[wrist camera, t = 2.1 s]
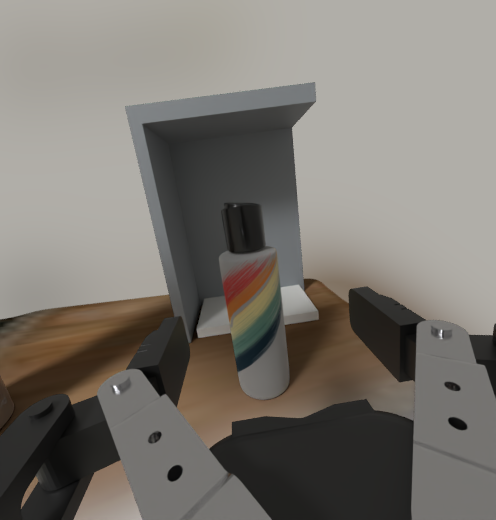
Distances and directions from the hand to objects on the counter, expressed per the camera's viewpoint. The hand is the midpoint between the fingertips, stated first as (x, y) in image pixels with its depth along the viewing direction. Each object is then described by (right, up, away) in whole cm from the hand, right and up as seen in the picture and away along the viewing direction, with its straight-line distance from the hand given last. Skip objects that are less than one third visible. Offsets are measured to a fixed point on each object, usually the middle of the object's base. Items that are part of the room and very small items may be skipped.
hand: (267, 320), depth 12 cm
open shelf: (0, -6, +33) cm, 33 cm away
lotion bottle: (+1, -11, +16) cm, 20 cm away
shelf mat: (0, -6, +32) cm, 33 cm away
